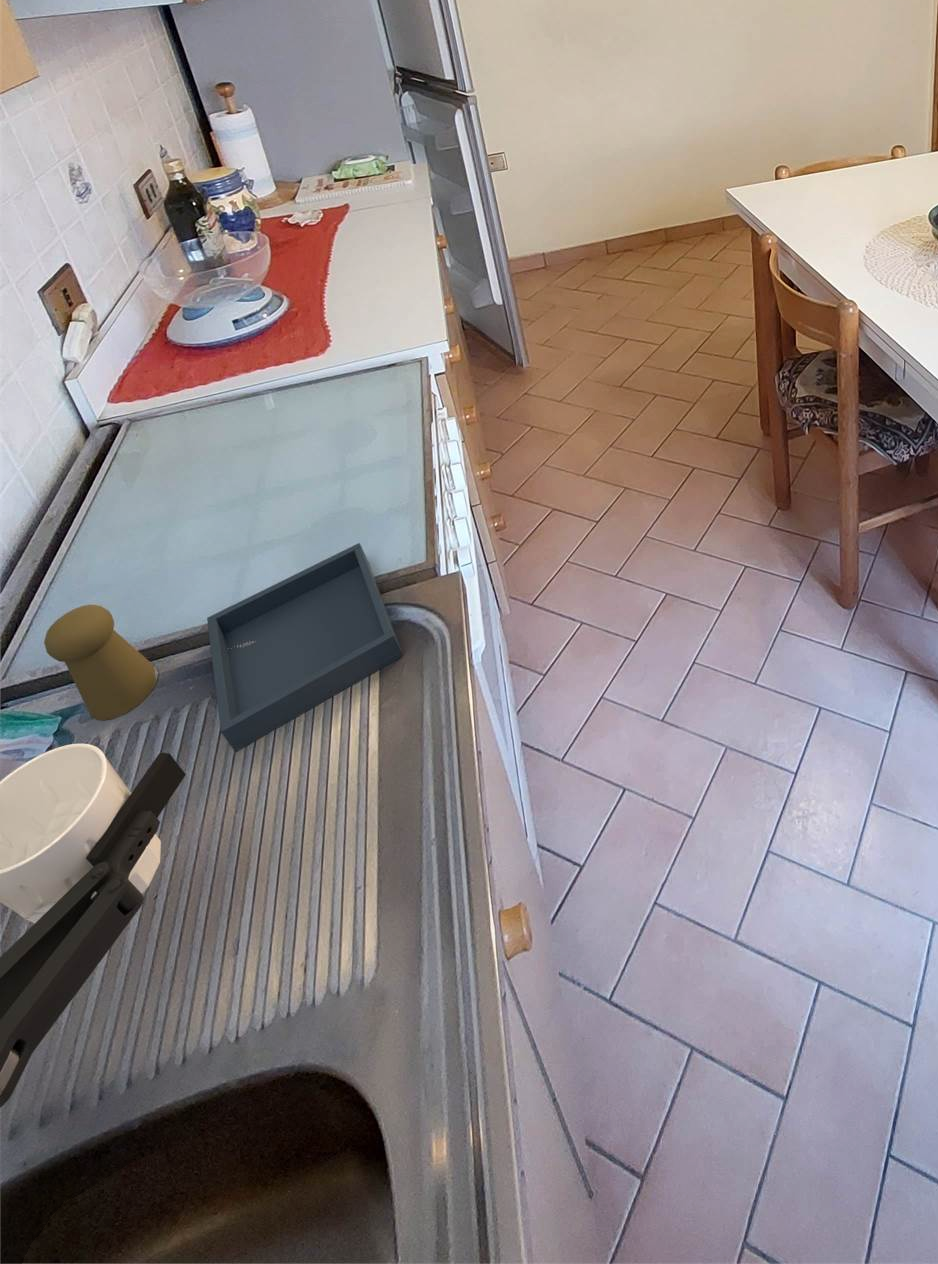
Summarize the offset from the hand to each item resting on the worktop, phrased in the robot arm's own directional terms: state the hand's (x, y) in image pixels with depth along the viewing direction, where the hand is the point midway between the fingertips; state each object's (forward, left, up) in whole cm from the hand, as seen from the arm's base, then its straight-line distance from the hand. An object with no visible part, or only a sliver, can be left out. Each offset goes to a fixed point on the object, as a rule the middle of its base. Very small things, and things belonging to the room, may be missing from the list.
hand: (119, 762), depth 57 cm
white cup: (+4, -3, -6) cm, 8 cm away
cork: (-26, -6, -18) cm, 32 cm away
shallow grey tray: (-19, +10, -17) cm, 28 cm away
